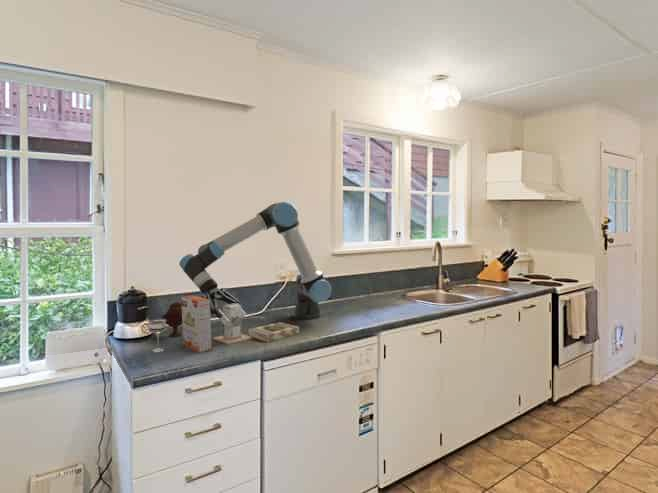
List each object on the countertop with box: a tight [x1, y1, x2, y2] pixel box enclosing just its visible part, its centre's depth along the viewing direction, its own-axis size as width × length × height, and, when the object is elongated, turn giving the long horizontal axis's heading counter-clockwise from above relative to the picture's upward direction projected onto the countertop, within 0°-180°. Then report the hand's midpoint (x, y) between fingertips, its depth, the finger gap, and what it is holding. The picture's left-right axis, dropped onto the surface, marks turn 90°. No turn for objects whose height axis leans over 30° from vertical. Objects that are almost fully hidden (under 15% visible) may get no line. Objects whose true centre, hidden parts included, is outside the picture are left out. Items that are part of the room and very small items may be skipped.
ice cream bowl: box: [161, 301, 183, 338], centre depth 189 cm, size 11×11×15 cm
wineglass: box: [148, 318, 168, 353], centre depth 168 cm, size 7×7×12 cm
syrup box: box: [222, 303, 242, 339], centre depth 182 cm, size 6×6×14 cm
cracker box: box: [181, 294, 212, 354], centre depth 170 cm, size 14×6×21 cm, turn 45°
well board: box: [248, 321, 300, 343], centre depth 189 cm, size 18×14×3 cm
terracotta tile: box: [212, 333, 253, 346], centre depth 183 cm, size 12×12×1 cm
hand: (235, 319), depth 181 cm, fingers open, 13 cm apart
